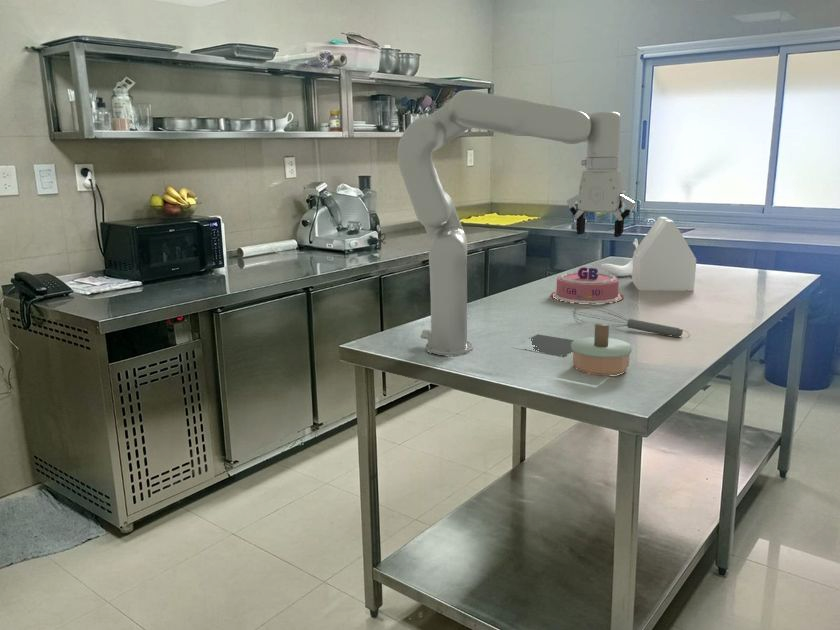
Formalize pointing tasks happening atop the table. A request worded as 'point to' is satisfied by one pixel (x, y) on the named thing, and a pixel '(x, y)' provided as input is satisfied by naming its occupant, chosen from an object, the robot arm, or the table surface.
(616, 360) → the bowl
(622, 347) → the lid
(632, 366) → the table surface
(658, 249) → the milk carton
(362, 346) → the table surface
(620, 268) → the white curved piece
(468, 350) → the robot arm
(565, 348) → the mat
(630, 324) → the kitchen whisk
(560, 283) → the cake
